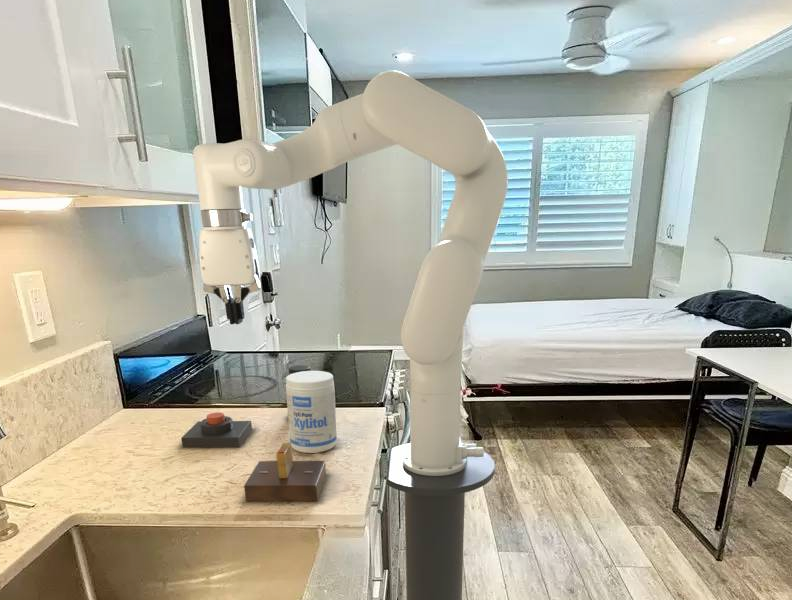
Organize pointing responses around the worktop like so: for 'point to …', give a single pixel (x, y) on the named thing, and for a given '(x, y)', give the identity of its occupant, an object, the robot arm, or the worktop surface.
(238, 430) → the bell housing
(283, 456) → the thumb turn
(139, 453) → the worktop surface
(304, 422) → the supplement tub
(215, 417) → the bell button
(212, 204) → the robot arm
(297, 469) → the plate
